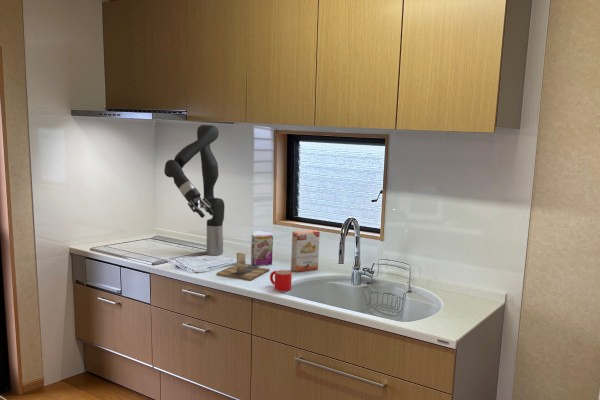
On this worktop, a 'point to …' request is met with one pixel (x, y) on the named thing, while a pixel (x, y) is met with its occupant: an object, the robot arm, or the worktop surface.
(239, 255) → the tan tall block
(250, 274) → the oak board
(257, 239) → the candy bar box
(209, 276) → the worktop surface
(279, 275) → the mug
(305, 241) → the cracker box
